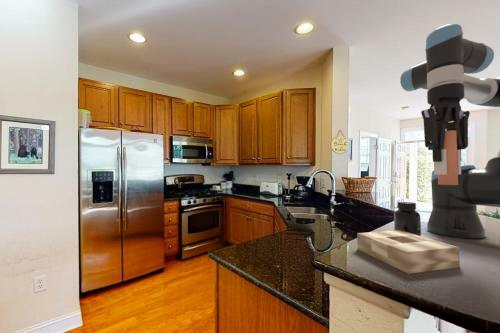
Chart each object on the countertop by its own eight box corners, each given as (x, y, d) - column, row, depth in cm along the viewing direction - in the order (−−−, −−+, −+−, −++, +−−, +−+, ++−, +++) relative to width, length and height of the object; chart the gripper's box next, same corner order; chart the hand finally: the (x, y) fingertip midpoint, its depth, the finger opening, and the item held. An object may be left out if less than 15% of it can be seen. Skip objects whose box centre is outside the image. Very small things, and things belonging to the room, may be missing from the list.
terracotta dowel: (445, 184, 63) (444, 133, 63) (462, 184, 59) (460, 130, 59) (434, 184, 62) (432, 132, 62) (449, 185, 58) (448, 130, 59)
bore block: (399, 245, 67) (399, 230, 67) (459, 267, 52) (459, 247, 52) (357, 249, 64) (357, 233, 64) (408, 273, 49) (407, 252, 49)
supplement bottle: (426, 245, 67) (424, 204, 68) (400, 244, 69) (399, 203, 69) (414, 238, 74) (413, 201, 75) (391, 237, 76) (390, 201, 76)
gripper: (454, 94, 67) (457, 174, 66) (406, 89, 63) (408, 174, 62) (485, 84, 60) (489, 174, 59) (433, 78, 56) (435, 174, 55)
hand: (447, 174), depth 61 cm, fingers closed on terracotta dowel, 4 cm apart
